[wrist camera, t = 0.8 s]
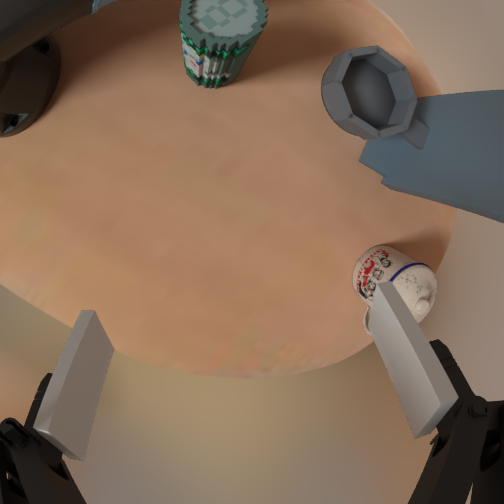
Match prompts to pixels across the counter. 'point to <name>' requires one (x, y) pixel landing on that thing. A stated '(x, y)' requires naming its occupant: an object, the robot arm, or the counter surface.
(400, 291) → the teacup with lid
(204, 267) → the counter surface
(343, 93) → the cup bracket
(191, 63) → the can
